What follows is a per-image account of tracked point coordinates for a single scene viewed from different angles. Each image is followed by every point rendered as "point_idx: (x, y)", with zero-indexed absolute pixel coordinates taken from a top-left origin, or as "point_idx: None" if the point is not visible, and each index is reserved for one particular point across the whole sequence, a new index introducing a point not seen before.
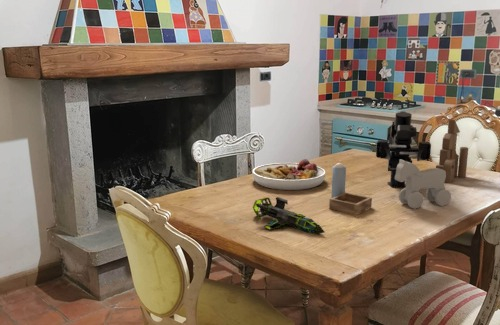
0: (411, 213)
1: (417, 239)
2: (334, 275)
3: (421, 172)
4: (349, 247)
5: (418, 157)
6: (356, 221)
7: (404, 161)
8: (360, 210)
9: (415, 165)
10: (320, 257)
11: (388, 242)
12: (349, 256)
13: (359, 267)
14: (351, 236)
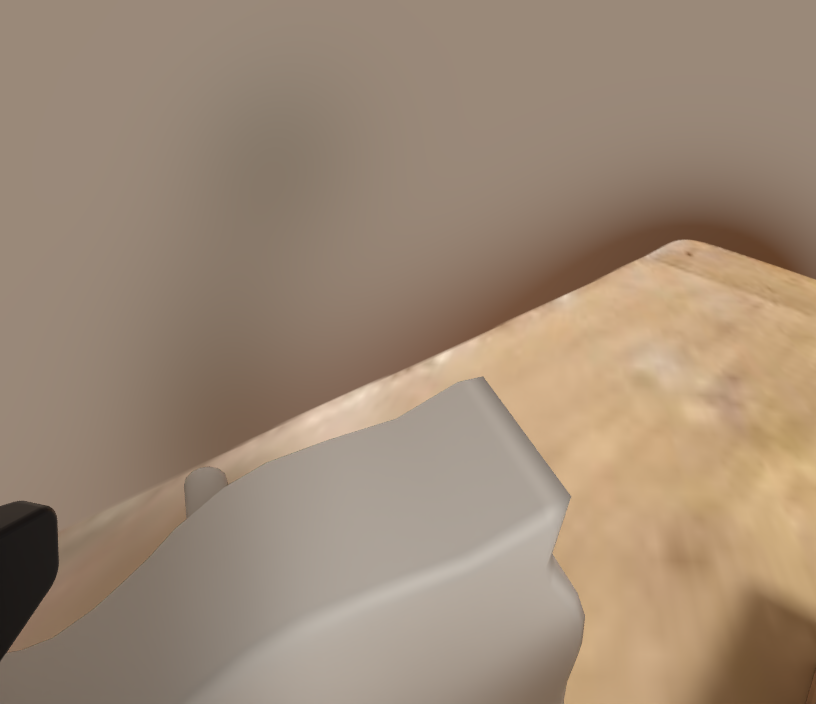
0: None
1: (441, 357)
2: (706, 249)
3: (80, 620)
4: (712, 333)
5: (5, 510)
6: (771, 547)
7: (477, 386)
8: (812, 693)
9: (221, 491)
10: (781, 300)
11: (568, 348)
12: (694, 297)
13: (651, 262)
14: (733, 395)
